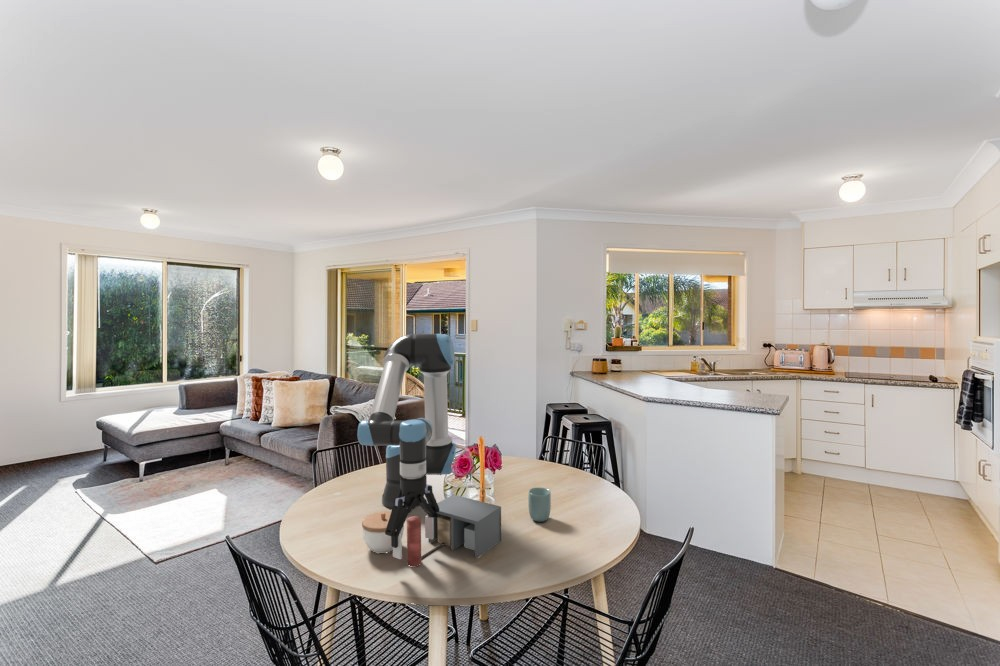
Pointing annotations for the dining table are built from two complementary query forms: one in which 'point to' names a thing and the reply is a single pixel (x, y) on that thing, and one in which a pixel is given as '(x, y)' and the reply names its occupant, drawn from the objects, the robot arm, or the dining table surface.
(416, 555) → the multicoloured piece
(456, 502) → the cubby
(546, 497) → the cup
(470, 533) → the block
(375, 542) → the white lidded jar
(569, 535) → the dining table surface
